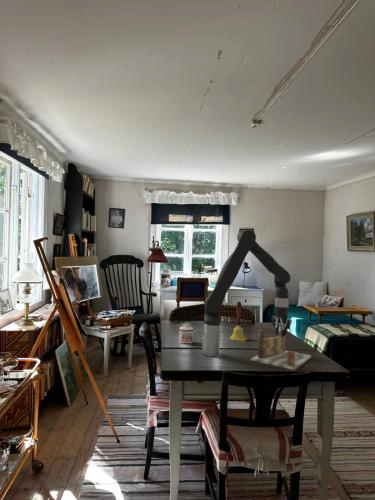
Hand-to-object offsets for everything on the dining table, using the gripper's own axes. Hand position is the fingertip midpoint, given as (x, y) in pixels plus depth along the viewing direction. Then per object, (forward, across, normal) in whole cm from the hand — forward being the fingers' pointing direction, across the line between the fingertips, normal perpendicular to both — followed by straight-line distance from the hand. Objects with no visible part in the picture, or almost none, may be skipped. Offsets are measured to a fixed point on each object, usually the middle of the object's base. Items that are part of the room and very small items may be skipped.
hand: (280, 335), depth 201 cm
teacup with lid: (+11, -47, -32) cm, 58 cm away
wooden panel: (+10, 0, -5) cm, 11 cm away
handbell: (+12, -39, +3) cm, 41 cm away
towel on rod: (+11, +6, -5) cm, 14 cm away
